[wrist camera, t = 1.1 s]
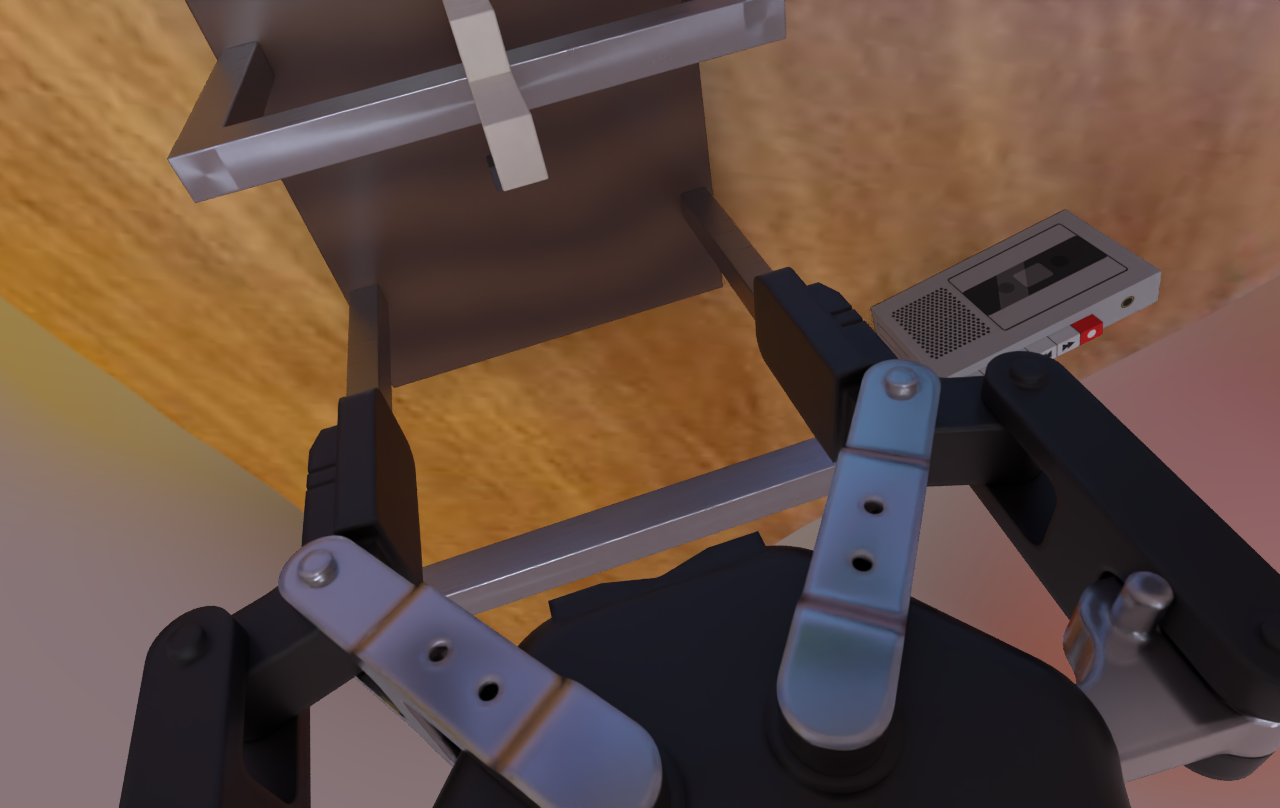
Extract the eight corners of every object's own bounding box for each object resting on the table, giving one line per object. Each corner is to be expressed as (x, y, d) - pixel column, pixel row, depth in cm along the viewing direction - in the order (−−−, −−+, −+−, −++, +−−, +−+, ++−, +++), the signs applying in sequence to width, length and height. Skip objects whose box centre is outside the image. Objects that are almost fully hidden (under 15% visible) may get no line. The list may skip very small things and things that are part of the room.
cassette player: (1065, 209, 54) (1174, 278, 47) (1064, 238, 56) (1169, 309, 49) (870, 307, 55) (947, 390, 48) (876, 333, 57) (950, 416, 50)
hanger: (402, -98, 27) (420, -27, 18) (455, -111, 27) (500, -47, 18) (493, 179, 34) (538, 330, 25) (534, 167, 35) (594, 313, 26)
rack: (138, -106, 30) (-182, 77, 12) (657, -231, 32) (1007, -224, 14) (392, 374, 47) (407, 726, 30) (715, 275, 49) (904, 552, 32)
